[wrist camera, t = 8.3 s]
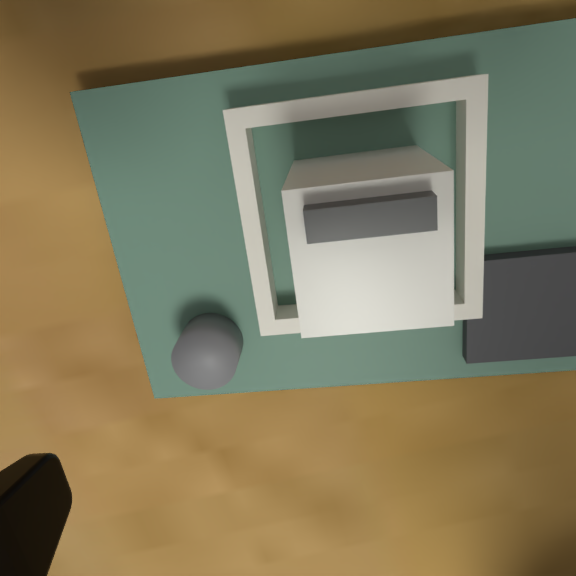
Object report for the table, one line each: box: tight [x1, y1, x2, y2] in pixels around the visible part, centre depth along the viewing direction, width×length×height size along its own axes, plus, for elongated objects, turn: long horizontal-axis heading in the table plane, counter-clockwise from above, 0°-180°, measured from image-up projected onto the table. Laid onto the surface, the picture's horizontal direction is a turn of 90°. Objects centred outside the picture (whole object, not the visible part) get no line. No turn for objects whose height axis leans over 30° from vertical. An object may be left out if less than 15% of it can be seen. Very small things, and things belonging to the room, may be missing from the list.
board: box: [70, 18, 576, 398], centre depth 17 cm, size 12×18×3 cm, turn 97°
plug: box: [281, 145, 454, 338], centre depth 14 cm, size 4×4×6 cm
